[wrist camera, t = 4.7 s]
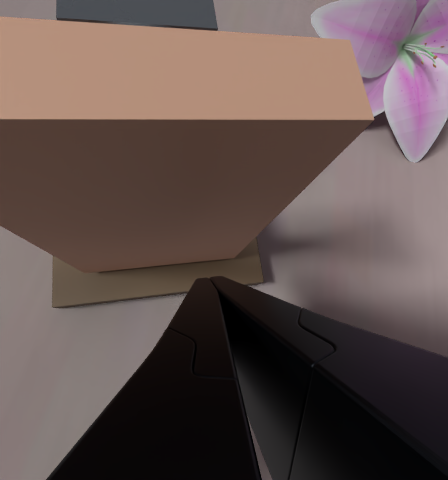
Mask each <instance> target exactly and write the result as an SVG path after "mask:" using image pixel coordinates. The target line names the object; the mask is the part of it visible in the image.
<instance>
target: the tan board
mask: <svg viewBox="0 0 448 480" xmlns="http://www.w3.org/2000/svg"><path fill="white" fill-rule="evenodd" d="M214 276H224V277H226V278H229V279H231V280H234V281H236V282H239V283H241V284H243V285H246V286H247V285H256V284H260V283H262V282H264V280H263V274H262V268H261V262H260V256H259V251H258V245H257V239H256V237H255V238H254V239H253V240H252V241H251V242H250V243H249V244H248V245H247V246H246V247H245V248H244V249H243V250H242V251H241V252H240V253H239V254H238V255H237V256H236V257H235V258H231V259H221V260H211V261H201V262H191V263H182V264H172V265H162V266H152V267H142V268H132V269H122V270H112V271H102V272H92V273H83V272H82V271H80V270H78V269H76V268H74V267H73V266H71V265H69V264H67V263H66V262H64V261H62V260H60V259H59V258H57V257H55V256H53V283H52V307H53V308H67V307H75V306H84V305H92V304H100V303H108V302H116V301H125V300H133V299H141V298H149V297H157V296H165V295H174V294H182V293H188V292H189V290H190V288H191V286H192V285H193V283H194V281H195V280H196V279H197V278H205V277H208V278H210V277H214Z"/></svg>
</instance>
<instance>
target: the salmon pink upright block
mask: <svg viewBox="0 0 448 480" xmlns="http://www.w3.org/2000/svg"><path fill="white" fill-rule="evenodd" d="M373 121H374V116H373V113H372V110H371V107H370V103H369V100H368V97H367V94H366V90H365V87H364V84H363V81H362V77H361V74H360V71H359V68H358V64H357V61H356V58H355V55H354V51H353V48H352V45H351V42H350V40H345V39H330V38H315V37H300V36H285V35H270V34H255V33H239V32H224V31H209V30H194V29H179V28H164V27H149V26H134V25H119V24H104V23H89V22H74V21H59V20H44V19H29V18H13V17H0V226H2V227H4V228H5V229H7V230H9V231H11V232H13V233H14V234H16V235H18V236H20V237H21V238H23V239H25V240H27V241H28V242H30V243H32V244H34V245H36V246H37V247H39V248H41V249H43V250H44V251H46V252H48V253H50V254H51V255H53V256H55V257H57V258H59V259H60V260H62V261H64V262H66V263H67V264H69V265H71V266H73V267H74V268H76V269H78V270H80V271H82V272H83V273H92V272H102V271H112V270H122V269H132V268H142V267H152V266H162V265H172V264H182V263H191V262H201V261H211V260H221V259H231V258H235V257H236V256H237V255H238V254H239V253H240V252H241V251H242V250H243V249H244V248H245V247H246V246H247V245H248V244H249V243H250V242H251V241H252V240H253V239H254V238H255V237H256V236H257V235H258V234H259V233H260V232H261V231H262V230H263V229H264V228H265V227H266V226H267V225H268V224H269V223H270V222H271V221H272V220H273V219H274V218H275V217H277V216H278V215H279V214H280V213H281V212H282V211H283V210H284V209H285V208H286V207H287V206H288V205H289V204H290V203H291V202H292V201H293V200H294V199H295V198H296V197H297V196H298V195H299V194H300V193H301V192H302V191H303V190H304V189H305V188H306V187H307V186H308V185H309V184H310V183H311V182H312V181H313V180H314V179H315V178H316V177H317V176H318V175H319V174H320V173H321V172H322V171H323V170H324V169H325V168H326V167H327V166H328V165H329V164H330V163H331V162H332V161H333V160H334V159H335V158H336V157H337V156H338V155H339V154H340V153H341V152H342V151H343V150H344V149H345V148H346V147H347V146H348V145H349V144H351V143H352V142H353V141H354V140H355V139H356V138H357V137H358V136H359V135H360V134H361V133H362V132H363V131H364V130H365V129H366V128H367V127H368V126H369V125H370V124H371V123H372V122H373Z"/></svg>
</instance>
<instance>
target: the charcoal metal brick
mask: <svg viewBox="0 0 448 480" xmlns="http://www.w3.org/2000/svg"><path fill="white" fill-rule="evenodd" d="M56 18H57V20H59V21H74V22H89V23H104V24H119V25H134V26H149V27H164V28H179V29H194V30H209V31H217V30H218V27H217V21H216V15H215V9H214V3H213V0H57V6H56Z"/></svg>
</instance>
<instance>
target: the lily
mask: <svg viewBox="0 0 448 480" xmlns="http://www.w3.org/2000/svg"><path fill="white" fill-rule="evenodd" d="M311 22H312V26H313V27H314V29H315V30H316V32H317V33H318V35H319V36H320V37H321V38H330V39H345V40H350V42H351V45H352V48H353V51H354V55H355V58H356V61H357V64H358V68H359V71H360V74H361V77H362V81H363V84H364V87H365V90H366V94H367V97H368V100H369V103H370V107H371V110H372V113H373V116H376V115H378V114H380V113H382V112H383V111H385V113H386V116H387V119H388V122H389V124H390V127H391V129H392V131H393V133H394V135H395V137H396V139H397V141H398V143H399V146H400V148H401V149H402V151H403V153H404V155H405V157H406V158H407V159H408V160H409V161H411V162H418V161H420V160H421V159H422V158H423V156H424V155H425V154H426V153H427V152H428V150H429V149H430V147H431V146H432V144H433V143H434V141H435V140H436V138H437V136H438V135H439V133H440V131H441V129H442V128H443V126H444V124H445V122H446V120H447V118H448V0H340V1H336V2H332V3H329V4H327V5H325V6H322V7H320V8H318V9H316V10H315V11H314V13H313V14H312V15H311Z"/></svg>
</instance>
